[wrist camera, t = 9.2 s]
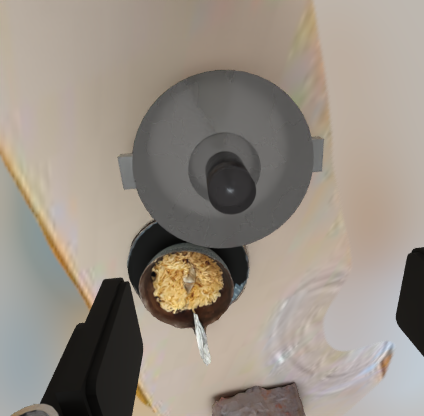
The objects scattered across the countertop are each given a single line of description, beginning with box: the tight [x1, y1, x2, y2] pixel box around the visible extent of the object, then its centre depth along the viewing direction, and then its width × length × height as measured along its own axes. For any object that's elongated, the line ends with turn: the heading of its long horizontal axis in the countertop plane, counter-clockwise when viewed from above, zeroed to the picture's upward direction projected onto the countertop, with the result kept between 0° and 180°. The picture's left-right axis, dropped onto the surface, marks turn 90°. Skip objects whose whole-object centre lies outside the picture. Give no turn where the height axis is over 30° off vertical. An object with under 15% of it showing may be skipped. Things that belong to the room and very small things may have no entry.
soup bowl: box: [127, 220, 249, 365], centre depth 37 cm, size 15×16×7 cm
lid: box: [132, 70, 314, 248], centre depth 24 cm, size 15×15×7 cm
